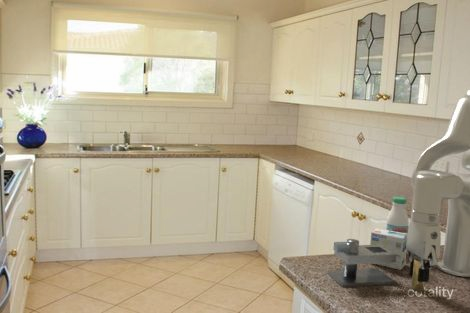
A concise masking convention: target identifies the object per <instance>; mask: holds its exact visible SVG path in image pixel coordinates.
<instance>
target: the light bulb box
mask: <svg viewBox="0 0 470 313" xmlns="http://www.w3.org/2000/svg"><path fill="white" fill-rule="evenodd" d="M406 241H407V234H406V233H400V232H394V231H389V230H385V229H384V228H383V229H382V228H378V227H377V228H376V227H375V229H374V230H373V231H371V235H370V244H369V245H382V246H384V247H385V248H387V249H389V250H390V251H392V252H394V253H395V254H396V262H395V263H371V264H373V265H376V264H377V266H381V267H385V266H386V268H390V269H395V270H399V271H402V269H403V268H404V267H405V265H406V257H407V250H406Z"/></svg>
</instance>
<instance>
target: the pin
mask: <svg viewBox="0 0 470 313" xmlns="http://www.w3.org/2000/svg"><path fill="white" fill-rule="evenodd" d="M426 262H427V260H425V263H426ZM420 263H421V258H420V257H418V256H417V255H415V256H414V266H413V276H411V277H412V278H411V287H410V288H411V290H413V291H415V292H423V291H424V290H425V282H418V271H419V268H421V267H420Z"/></svg>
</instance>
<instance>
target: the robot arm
mask: <svg viewBox="0 0 470 313" xmlns="http://www.w3.org/2000/svg"><path fill="white" fill-rule="evenodd" d="M443 134H444V135H443V136H442V137H441V138H440V139H439V140H437V141H435V142H433V144H431V145H430V146H429V147H427V148H426V149H425V150H424V151H423V152H422V153H421V154H420V156H419V158H418V159H417V162H416V163H415V166H414V169H413V172H412V174H411V181H410V184H411V188H412V189H413V192H412V194H413V195H412V203H411V214H410V221H409V228H408V234H407V241H406V252H407V253H408V256H409V260H408V261H409V263H410V264H409V272H408V276H409V277H412V276H413V266H414V256H415V255H417V256H418V257H420V258H421V263H420V267H421V268H419V271H418V282H424V283H427V282H429V280H430V279H429V278H430V270H431V269H432V268H433V267H434V266H436V267H437V268H438V269H439V271H442V272H444V273H446V274H449V275H452V276H458V277H465V278H470V174H469V173H458V174H455V173H452V172H446V171H441V170H440V171H439V170H435V169H432V167H433V166H434V165H435V164H436V163H437V162H438V161H440V160H443V159H444V158H446V157H450V156H453V155H458V154H462V156H461V166H462V168H463V169H464V170H465V171H469V172H470V89H468V90H467V91H466V92H465V95H464V96H462V97H461V98H459V99H458V100H457V102H456V104H455V106H454V108H453V111H452V114H451V116H450V119H449V121H448V124H447V127H446V129H445V132H444V133H443ZM442 199H443V200H444V199H445V200H448V201H447V203H448V206H447V208H448V209H447V210H448V212H447V218H446V219H447V220H446V227H445V238H444V244H443V255H442V260H439V259H440V256H441V244H442V240H441V239H442V237H441V236H442V235H441V234H442V233H441V225H440V217H441V216H440V215H441V206H442ZM425 260H427V262H426V263H425ZM438 260H439V261H438Z"/></svg>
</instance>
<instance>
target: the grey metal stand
mask: <svg viewBox="0 0 470 313" xmlns="http://www.w3.org/2000/svg"><path fill="white" fill-rule="evenodd" d="M333 251H334V253H333V254H334V255H335V256H336V257H337V258H339V259H340V260H341V261H342V262H344V269H337V270H335V269H334V270H327V275H328V276H329V277H331V279H333V281H334V282H336V283H337V284H338V285H339V286H340V287H341V288H345V287H365V286H380V285H381V286H384V285H396V284H395V283H396V281H395V280H394V279H393V278H391V276H389V275H387V274H386V273H385V272H383V271H382V270H381V269H379V268H377V267H375V268H361V269H360V268H358V265H365V264H372V263H395V262H396V254H395V253H394V252H392V251H390V250H389V249H387V248H385V247H384V246H382V245H370V244H360V241H359V239H354V238H348V239H346V241H334V242H333Z"/></svg>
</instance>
